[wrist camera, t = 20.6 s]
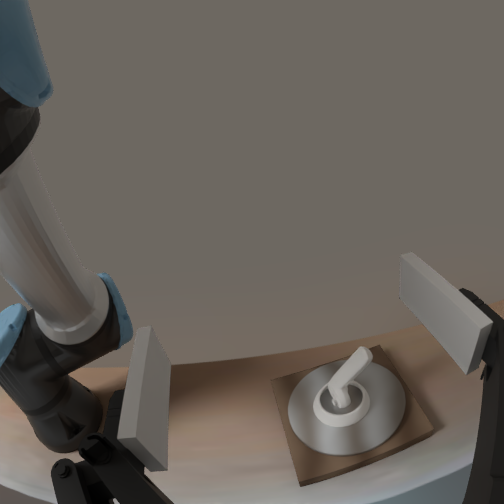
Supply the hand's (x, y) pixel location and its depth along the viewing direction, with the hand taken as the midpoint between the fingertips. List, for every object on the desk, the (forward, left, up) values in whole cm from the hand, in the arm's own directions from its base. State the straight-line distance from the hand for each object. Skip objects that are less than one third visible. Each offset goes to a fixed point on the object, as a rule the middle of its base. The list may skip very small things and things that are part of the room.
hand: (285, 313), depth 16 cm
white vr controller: (+6, +12, -27) cm, 30 cm away
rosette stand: (+7, +12, -30) cm, 33 cm away
